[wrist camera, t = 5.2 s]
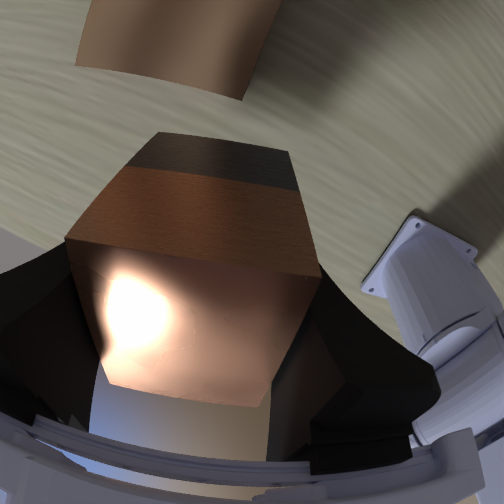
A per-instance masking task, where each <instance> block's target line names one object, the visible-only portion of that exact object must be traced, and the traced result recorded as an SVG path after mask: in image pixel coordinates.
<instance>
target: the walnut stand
mask: <svg viewBox="0 0 504 504" xmlns="http://www.w3.org/2000/svg"><path fill="white" fill-rule="evenodd" d="M281 3H282V0H92V2H91V5H90V8H89V12H88V15H87V18H86V22H85V25H84V29H83V33H82V37H81V41H80V45H79V49H78V53H77V58H76V63H75V66H83V67H92V68H99V69H107V70H113V71H120V72H126V73H131V74H137V75H142V76H147V77H152V78H157V79H162V80H166V81H171V82H175V83H179V84H183V85H187V86H191V87H195V88H199V89H203V90H207V91H210V92H214V93H217V94H221V95H224V96H227V97H231V98H234V99H237V100H240V101H242V99H243V96H244V94H245V91H246V88H247V86H248V83H249V81H250V78H251V75H252V73H253V70H254V68H255V65H256V63H257V60H258V57H259V55H260V52H261V50H262V47H263V45H264V43H265V40H266V38H267V35H268V33H269V30H270V28H271V26H272V23H273V21H274V19H275V16H276V14H277V12H278V9H279V7H280V5H281Z"/></svg>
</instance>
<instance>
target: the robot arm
mask: <svg viewBox="0 0 504 504" xmlns="http://www.w3.org/2000/svg"><path fill="white" fill-rule="evenodd" d="M417 223H419V224H418V225H416V224H417ZM415 225H416V226H415ZM477 254H478V250H477V248H476V247H474V246H472V245H470V244H469V243H467V242H465V241H463V240H461V239H459V238H458V237H456V236H454V235H452V234H450V233H448V232H446V231H444V230H443V229H441V228H439V227H437V226H435V225H433V224H431V223H429V222H427V221H425V220H423V219H421V218H419V217H417V216H414V215H412V216H410V217H409V218H408V219H407V220H406V222H405V223H404V225H403V226H402V228H401V229H400V231H399V232H398V234H397V235H396V237H395V238H394V240H393V241H392V243H391V244H390V246H389V247H388V248H387V250H386V251H385V253H384V254H383V256H382V257H381V258H380V260H379V261H378V263H377V264H376V265H375V267H374V268H373V270H372V271H371V272H370V274H369V275H368V276H367V278H366V279H365V280H364V282H363V283H362V284H361V291H362V292H364V293H368V294H371V295H375V296H379V297H383V298H386V299H388V301H389V304H390V306H391V309H392V312H393V314H394V317H395V320H396V322H397V325H398V328H399V330H400V333H401V336H402V339H403V342H404V345H405V347H403V346H402V345H401V344H399V343H398V342H397V341H395V340H394V339H392V338H391V337H390V336H389V335H387V334H386V333H385V332H384V331H382V330H381V329H380V328H379V327H378V326H377V325H375V324H374V323H373V322H372V321H371V320H370V319H369V318H367V317H366V316H365V315H364V314H363V313H362V312H361V311H360V310H359V309H358V308H357V307H356V306H355V305H354V304H353V303H352V302H351V301H350V300H349V299H348V298H347V297H346V296H345V294H344V293H343V292H342V291H341V290H340V289H339V288H338V286H337V285H336V284H335V283H334V282H333V280H332V279H331V278H330V277H329V275H328V274H327V273H326V272H325V270H324V269H323V268H322V266H321V265H320V264H319V267H320V271H321V275H322V279H321V281H320V284H319V286H318V288H317V290H316V292H315V295H314V297H313V299H312V301H311V303H310V305H309V308H308V310H307V312H306V314H305V316H304V318H303V320H302V322H301V325H300V327H299V329H298V331H297V333H296V335H295V337H294V339H293V341H292V343H291V345H290V347H289V349H288V351H287V353H286V355H285V357H284V359H283V361H282V363H281V365H280V367H279V369H278V371H277V373H276V375H275V376H274V378H273V380H272V387H271V408H270V423H269V436H268V447H267V456H266V462H261V461H239V460H226V459H215V458H206V457H197V456H190V455H183V454H176V453H170V452H164V451H160V450H154V449H149V448H145V447H140V446H136V445H131V444H127V443H123V442H119V441H115V440H111V439H107V438H104V437H101V436H97V435H94V434H91V433H89V421H90V412H91V404H92V397H93V391H94V385H95V380H96V375H97V370H98V365H99V361H100V357H99V355H98V352H97V350H96V347H95V344H94V341H93V339H92V336H91V333H90V330H89V327H88V324H87V321H86V318H85V315H84V312H83V309H82V305H81V302H80V299H79V295H78V292H77V288H76V285H75V281H74V277H73V273H72V269H71V265H70V261H69V257H68V253H67V248H66V243H65V242H63V243H62V244H60V245H58V246H57V247H55V248H53V249H52V250H50V251H48V252H46V253H44V254H42V255H41V256H39V257H37V258H35V259H33V260H31V261H29V262H26V263H24V264H22V265H20V266H18V267H16V268H14V269H12V270H9V271H7V272H4V273H2V274H0V489H2V490H3V491H5V492H6V493H7V498H6V503H5V504H455V503H457V502H459V501H461V500H463V499H465V498H467V497H469V496H471V495H473V494H476V497H477V500H478V502H479V504H504V310H503V306H502V304H501V301H500V300H499V298H498V296H497V295H496V293H495V292H494V290H493V289H492V287H491V285H490V284H489V282H488V281H487V279H486V278H485V276H484V275H483V273H482V272H481V270H480V269H479V268H478V266H477V265H476V263H475V262H474V258H475V257H476V256H477ZM318 263H319V262H318ZM370 288H372V289H370ZM35 438H36V439H38V440H40V441H43V442H45V443H48V444H50V445H52V446H55V447H57V448H60V449H63V450H65V451H68V452H70V453H73V454H76V455H79V456H82V457H85V458H88V459H91V460H94V461H98V462H101V463H105V464H108V465H112V466H115V467H119V468H123V469H127V470H131V471H135V472H139V473H144V474H149V475H153V476H159V477H164V478H170V479H176V480H183V481H190V482H198V483H206V484H218V485H230V486H251V487H285V488H275V489H267V490H266V491H265V494H263V495H257V496H254V497H253V498H252V501H249V500H233V499H223V498H213V497H204V496H197V495H190V494H183V493H176V492H171V491H165V490H160V489H155V488H150V487H145V486H141V485H136V484H132V483H128V482H124V481H120V480H116V479H112V478H108V477H105V476H101V475H98V474H94V473H91V472H88V471H87V470H86V468H85V467H83V466H81V465H79V464H77V463H75V462H73V461H72V460H70V459H69V458H67V457H66V456H65V455H64V454H63V453H62V452H60V451H58V450H56V449H54V448H52V447H50V446H48V445H46V444H43V443H42V442H40V441H38V440H36V439H35ZM289 486H294V487H289Z"/></svg>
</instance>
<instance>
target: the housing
mask: <svg viewBox="0 0 504 504" xmlns="http://www.w3.org/2000/svg"><path fill="white" fill-rule="evenodd" d="M64 239H65V243H66V248H67V253H68V257H69V261H70V265H71V269H72V273H73V277H74V281H75V285H76V288H77V292H78V295H79V299H80V302H81V305H82V309H83V312H84V315H85V318H86V321H87V324H88V327H89V330H90V333H91V336H92V339H93V341H94V344H95V347H96V350H97V352H98V355H99V357H100V360H101V363H102V365H103V368H104V370H105V372H106V375H107V377H108V380H109V382H110V384H114V385H118V386H122V387H126V388H131V389H135V390H139V391H144V392H149V393H154V394H159V395H165V396H170V397H176V398H183V399H189V400H195V401H203V402H210V403H218V404H228V405H237V406H249V407H258V406H259V404H260V403H261V401H262V399H263V397H264V395H265V393H266V392H267V390H268V388H269V386H270V384H271V382H272V380H273V378H274V376H275V375H276V373H277V371H278V369H279V367H280V365H281V363H282V361H283V359H284V357H285V355H286V353H287V351H288V349H289V347H290V345H291V343H292V341H293V339H294V337H295V335H296V333H297V331H298V329H299V327H300V325H301V322H302V320H303V318H304V316H305V314H306V312H307V310H308V308H309V305H310V303H311V301H312V299H313V297H314V295H315V292H316V290H317V288H318V286H319V284H320V281H321V279H322V275H321V271H320V267H319V263H318V259H317V254H316V250H315V246H314V243H313V239H312V235H311V231H310V227H309V223H308V219H307V216H306V212H305V208H304V205H303V201H302V197H301V194H300V190H299V187H298V183H297V180H296V176H295V173H294V170H293V166H292V163H291V159H290V156H289V153H288V151H284V150H279V149H274V148H268V147H263V146H258V145H252V144H246V143H240V142H234V141H228V140H221V139H214V138H207V137H200V136H192V135H184V134H175V133H165V132H158V133H157V134H156V135H155V136H154V137H153V138H151V139H150V140H149V141H148V142H147V143H146V144H145V145H144V146H143V147H142V148H141V149H140V150H139V151H138V152H137V153H136V154H135V156H134V157H133V158H132V159H131V160H130V161H129V162H128V163H127V164H126V165H125V166H124V167H123V168H122V169H121V170H120V171H119V172H118V174H117V175H116V176H115V177H114V178H113V179H112V180H111V181H110V182H109V183H108V185H107V186H106V187H105V188H104V189H103V190H102V191H101V193H100V194H99V195H98V196H97V197H96V198H95V200H94V201H93V202H92V203H91V204H90V206H89V207H88V208H87V209H86V210H85V212H84V213H83V214H82V215H81V217H80V218H79V219H78V220H77V222H76V223H75V224H74V225H73V227H72V228H71V229H70V231H69V232H68V233H67V235H66V236H65V237H64Z"/></svg>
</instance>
